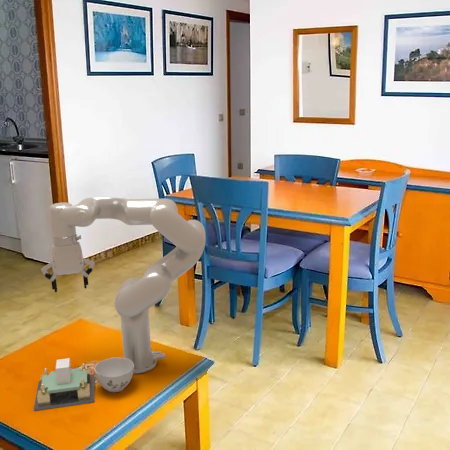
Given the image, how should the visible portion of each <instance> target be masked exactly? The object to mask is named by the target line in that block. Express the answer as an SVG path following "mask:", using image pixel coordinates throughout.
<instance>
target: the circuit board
mask: <svg viewBox="0 0 450 450" xmlns="http://www.w3.org/2000/svg"><path fill="white" fill-rule="evenodd" d="M81 369H82V368H81V367H76V368H72V367H71V358H70V357H68V358H62V359H61V358H60V359H56V363H55V370H52V371H50V373H49V374H50V375H47V376H43V378H42V383H41V385H42V384H44V385H45V390H47V392H48V394H50V393H57V392H64V391H71V390H78V389H80V386H81V385H82V384H81V379H84V381H85V385H87V370H84V371H81ZM41 391H42V389H41Z"/></svg>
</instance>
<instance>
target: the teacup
mask: <svg viewBox="0 0 450 450" xmlns="http://www.w3.org/2000/svg"><path fill="white" fill-rule="evenodd" d="M93 369H94V375H95V378H96V379H97V382H98V383H99V385H100V386H101V387H102V388H104V389H105V390H106V391H107V392H109V393H118V392H119V393H120V392H122V391H123V390H124V389H126V387H127V386H128V385H129V384H130V382H131V380H132V378H133V375H134V374H133V371H134V363H133V362H132V361H131V360H129V359H127V358H124V357H110V358H106V359H104V360H103V359H102V360H101V361H99V362H97V363H96V365H95V366H94V368H93Z"/></svg>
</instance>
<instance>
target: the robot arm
mask: <svg viewBox="0 0 450 450" xmlns="http://www.w3.org/2000/svg"><path fill="white" fill-rule="evenodd" d="M48 209H49V210H48V211H49V219H50V226H51V235H52V242H53V243H52V244H51V247H50V258H51V260H50V262H49V263H48V264H46V265H44V266H42V267H41V268H40V271H41V273H42V274H43V276H44V277H45V278H46V279H47V280H49V281H50V283H51V287H52V289H51V290H54V293H57V292H58V285H57V279H56V278H57V277H58V276H65V275H72V274H73V275H74V274H81V275H82V279H83V288H84V289H85V290H86V289H87V286H89V275H90V274H91V273H92V272H93V269H94V268H95V265H96V263H95V261H93V260H90V259H87V258H84V255H83V249H82V246H81V243H80V241H79V240H82V235H79V234H77V229H76V227H79V228H84V227H85V228H86V227H89V226H91V225H92V224H93V223H95V221H96V220H102V219H103V220H107V219H111V220H118V221H121V222H122V223H124V224H125V225H127V226H148V225H149V226H153V228H154V229H155V230H156V231H158V233H160V234H161V235H162V236H163V237H164V238H165V239H167V240H168V241H169V242H170V243H172V244H173V245H174V246H175V248H173V249H172V250H171V251H169V252H168V253H167V254H166V255H164V256H163V257H161V258H159V259H158V260H156V261H155V262H154V263H152V264H150V265H149V266H148V267H147V268H146V270H145V271H144V274H143V276H142V277H141V278H138V277H129V278H127V279H126V280H124V281H123V282H122V283H121V285H120V286H119V288H118V291H117V293H116V296H115V298H114V309H115V311H116V313H117V314H118V315H119V316H120V324H121V325H120V326H121V327H120V329H121V339H122V348H123V350H122V351H123V358H127V359H129V360H131V361H132V362H133V363H134V371H133V375H134V374H135V375H136V374H143V373H146V372H150V371H151V370H152V369H154V368H155V367H156V366H157V363H158V362H157V360H163V359H166V353H165V352H161V350H159V351H158V350H156V351H154V350H152V343H151V332H150V331H151V328H150V312H149V309H150V308H151V307H153V306H154V305H156V304H157V303H159V302H160V301H162V300H163V299H165V298H166V297H167V295H168V294H169V292H170V290H171V288H172V284H173V282H175V281H176V280H177V279H178V278H180V277H181V276H183V275H184V274H185V273H187V272H188V271H189V270H190V269H192V268H193V267H194V266H195V265H196V264H197V262H198V261H199V260H200V259H201V257H202V256H203V252H204V249H205V247H206V240H207V239H206V235H207V234H206V228H205V227H204V225H203V223H202V222H201V221H199V220H198V219H188V220H186V219H184V217H183V216H182V215H180V214H179V209H178V206H177V204H176V202H175V201H174V200H172V199H171V198H135V199H134V198H121V197H112V196H107V197H106V196H102V197H101V196H100V197H86V198H84V199H82V200H80V202H78V203H77V204H74V205H73V204H72V203H70V202H56V203H53V204H51V205H50V206H49V208H48ZM85 264H86V265H89V267H88V268H87V269H85ZM51 268H52V269H51ZM49 269H51V270H52V274H51V273H50V272H48V270H49Z"/></svg>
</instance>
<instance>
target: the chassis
mask: <svg viewBox="0 0 450 450" xmlns="http://www.w3.org/2000/svg"><path fill="white" fill-rule="evenodd" d="M81 367H82V368H81V371H84V370H87V385H85V381H84V379H81V384H82V385H81V386H80V389H78V390H71V391H64V392H57V393H50V394H48V392H47V390H45V385H44V384H42V385H41V383H42V378H43V376H47V375H50V373H48V372H49V371H48V368H47V367H45V368H44V369H43V370H44V371H43V372H44V373H43V374H40V381H38V385H37V390H36V394H35V400H34V405H33V411H34V412H36V411H43V410H51V409H57V408H64V407H71V406H77V405H78V406H79V405H86V404H93V403H95V393H96V392H95V386H96V385H95V380H96V379H95V378H96V375H95V373H92V374H91V368H90V367H88V368H86V363H85V362H84V363H82V364H81ZM41 389H42V391H41Z"/></svg>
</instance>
